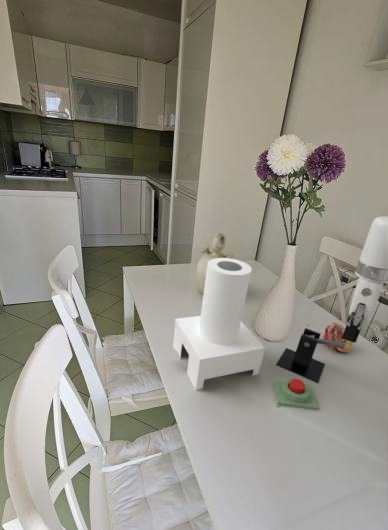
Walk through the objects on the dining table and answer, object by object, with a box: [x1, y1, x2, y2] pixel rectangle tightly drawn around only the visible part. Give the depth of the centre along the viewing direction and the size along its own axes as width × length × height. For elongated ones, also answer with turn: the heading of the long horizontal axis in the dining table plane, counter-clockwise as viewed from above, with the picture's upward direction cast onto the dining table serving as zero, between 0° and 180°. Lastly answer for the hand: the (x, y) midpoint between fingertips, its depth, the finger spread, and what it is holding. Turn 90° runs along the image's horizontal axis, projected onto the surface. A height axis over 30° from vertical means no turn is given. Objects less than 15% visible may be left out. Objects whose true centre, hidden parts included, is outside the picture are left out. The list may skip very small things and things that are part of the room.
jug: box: [196, 232, 234, 295], centre depth 124 cm, size 15×16×25 cm
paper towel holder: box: [172, 258, 266, 391], centre depth 82 cm, size 19×19×30 cm
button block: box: [271, 378, 319, 411], centre depth 78 cm, size 10×8×4 cm
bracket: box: [276, 327, 326, 384], centre depth 88 cm, size 12×10×12 cm
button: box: [289, 378, 306, 394], centre depth 77 cm, size 4×4×2 cm
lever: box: [305, 334, 354, 353], centre depth 83 cm, size 12×5×2 cm, turn 58°
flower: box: [322, 322, 347, 353], centre depth 100 cm, size 10×9×8 cm
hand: (351, 331), depth 79 cm, fingers open, 9 cm apart
